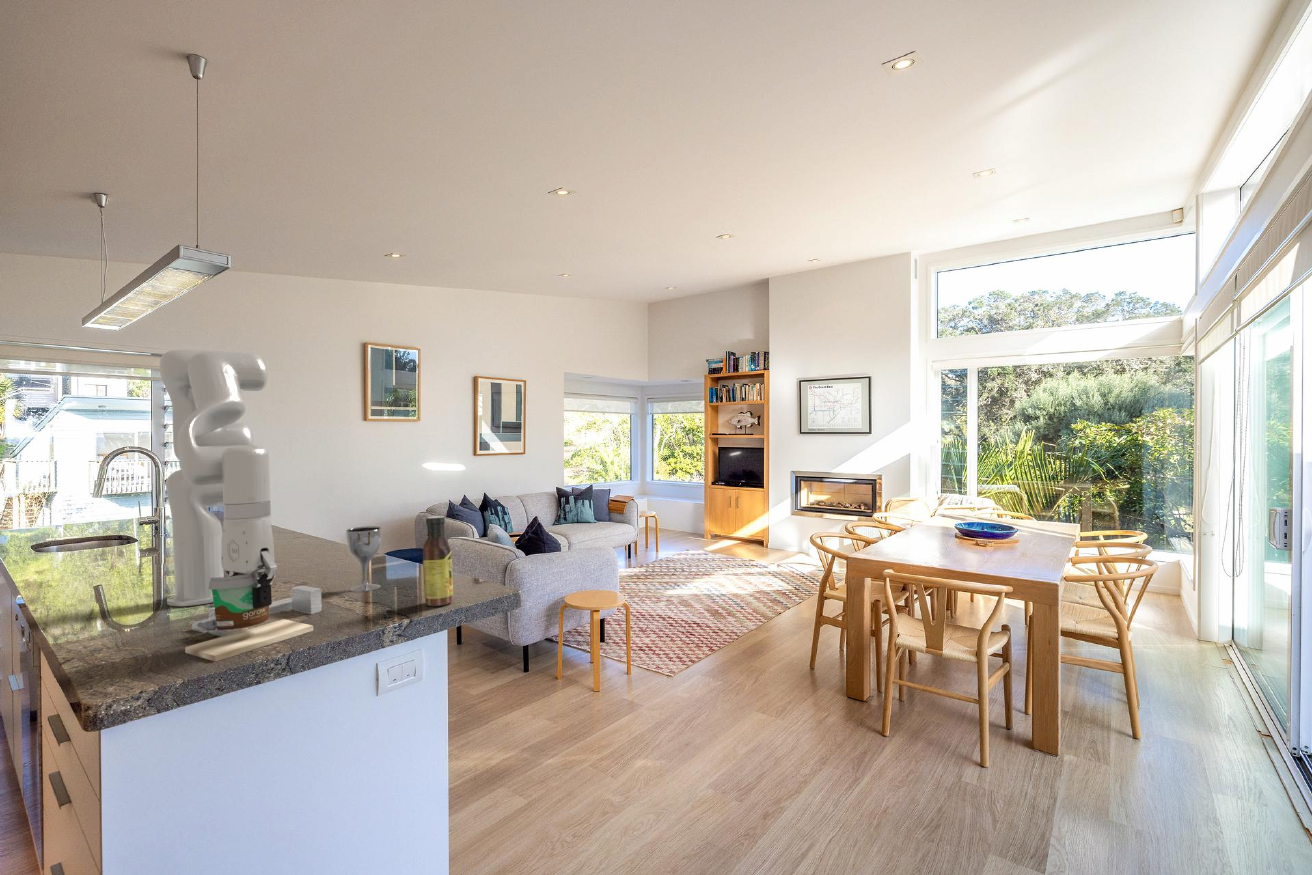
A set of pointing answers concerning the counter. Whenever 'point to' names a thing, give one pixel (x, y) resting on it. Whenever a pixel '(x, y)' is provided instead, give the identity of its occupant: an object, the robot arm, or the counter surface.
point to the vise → (270, 609)
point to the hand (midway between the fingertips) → (250, 603)
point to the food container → (236, 602)
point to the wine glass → (364, 550)
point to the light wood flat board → (248, 640)
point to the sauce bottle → (437, 564)
